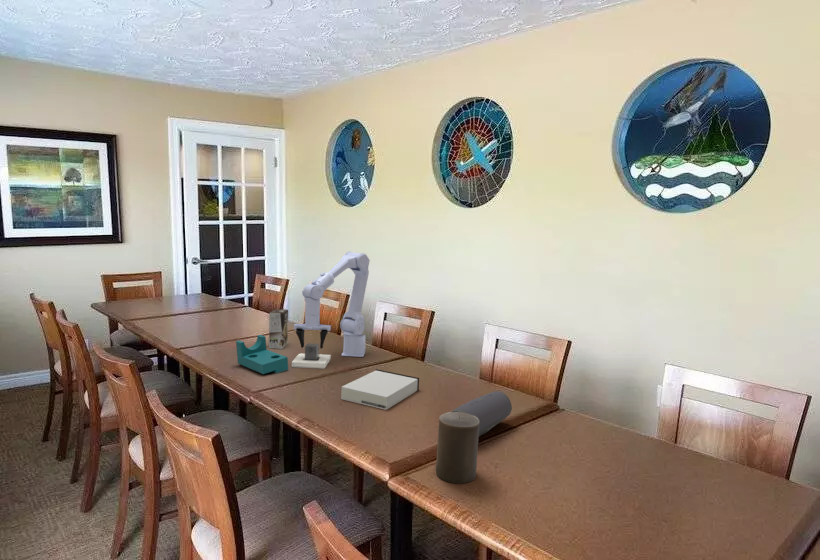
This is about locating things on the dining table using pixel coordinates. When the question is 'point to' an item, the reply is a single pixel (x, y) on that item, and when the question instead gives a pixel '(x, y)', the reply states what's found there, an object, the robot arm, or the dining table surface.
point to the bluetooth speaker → (487, 409)
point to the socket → (303, 363)
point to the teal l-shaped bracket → (260, 357)
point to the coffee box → (278, 328)
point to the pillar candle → (457, 447)
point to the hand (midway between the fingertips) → (312, 347)
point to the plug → (312, 352)
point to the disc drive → (380, 389)
